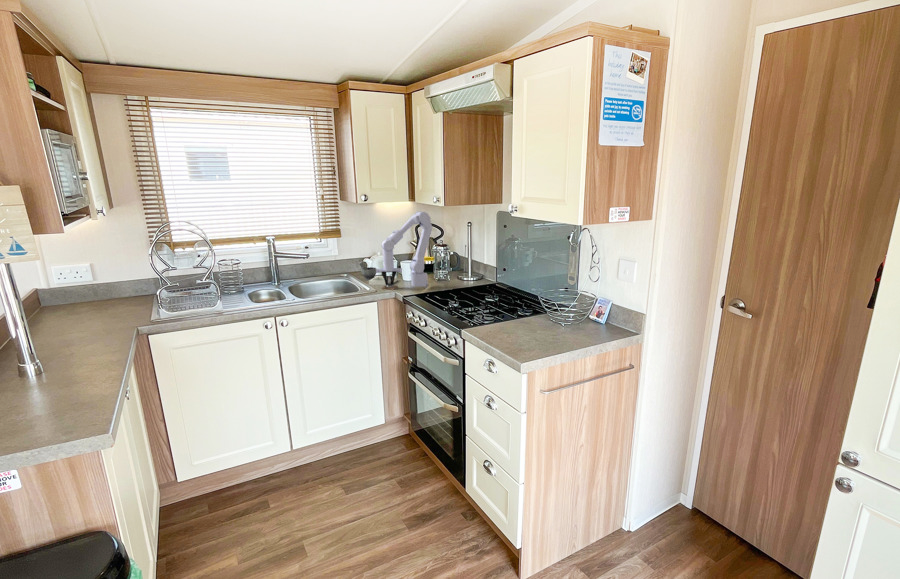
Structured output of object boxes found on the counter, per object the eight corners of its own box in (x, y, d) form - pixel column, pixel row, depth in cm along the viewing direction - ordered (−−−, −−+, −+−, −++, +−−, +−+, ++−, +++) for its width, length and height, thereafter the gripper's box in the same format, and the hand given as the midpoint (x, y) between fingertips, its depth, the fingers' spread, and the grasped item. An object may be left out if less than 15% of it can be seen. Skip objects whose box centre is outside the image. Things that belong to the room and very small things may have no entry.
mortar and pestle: (375, 277, 290) (374, 259, 287) (378, 279, 282) (377, 261, 279) (358, 278, 286) (357, 260, 283) (361, 281, 277) (360, 262, 275)
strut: (393, 287, 255) (393, 275, 253) (392, 288, 251) (392, 276, 249) (386, 287, 255) (386, 275, 253) (385, 288, 251) (385, 276, 249)
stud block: (400, 288, 257) (400, 284, 256) (395, 292, 247) (395, 288, 247) (384, 288, 259) (384, 284, 258) (378, 292, 249) (378, 288, 249)
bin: (397, 282, 273) (397, 276, 272) (390, 287, 261) (389, 281, 260) (377, 281, 276) (376, 276, 275) (369, 286, 263) (368, 280, 262)
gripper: (401, 259, 254) (402, 282, 257) (376, 260, 253) (377, 283, 256) (401, 261, 247) (402, 285, 250) (375, 262, 246) (376, 286, 249)
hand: (389, 284), depth 252 cm, fingers closed on strut, 3 cm apart
